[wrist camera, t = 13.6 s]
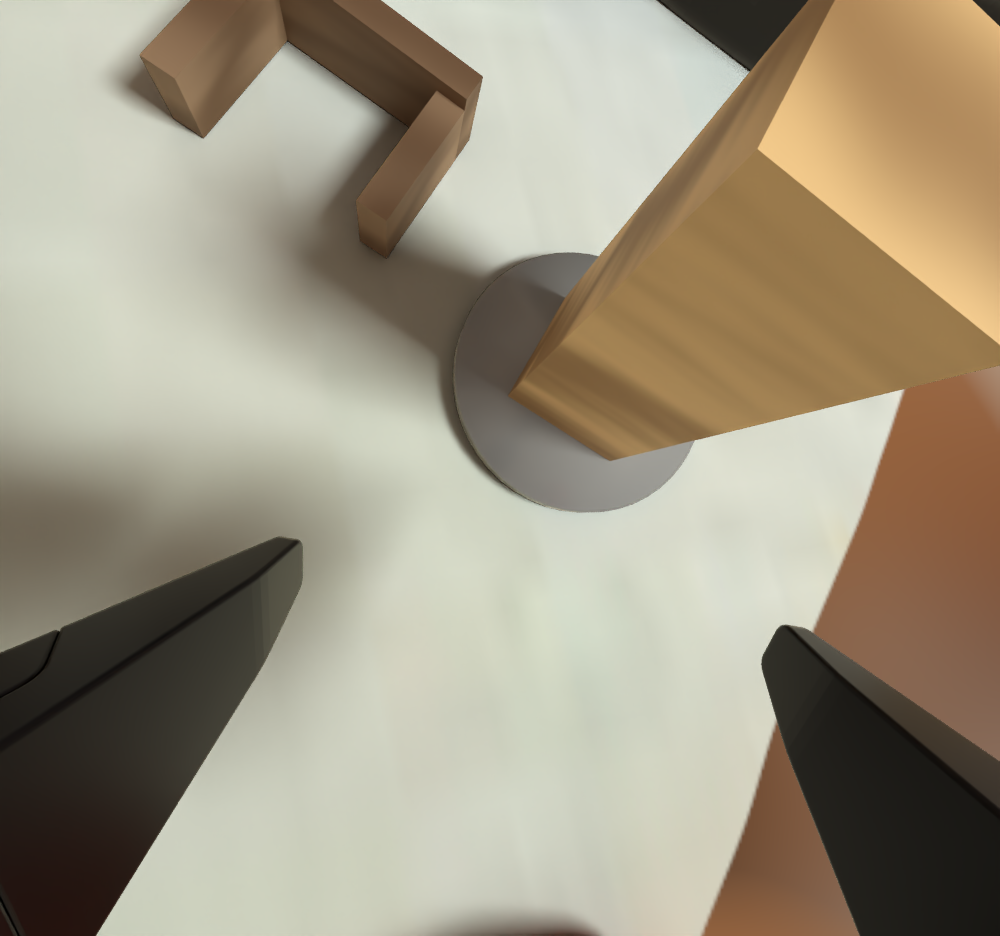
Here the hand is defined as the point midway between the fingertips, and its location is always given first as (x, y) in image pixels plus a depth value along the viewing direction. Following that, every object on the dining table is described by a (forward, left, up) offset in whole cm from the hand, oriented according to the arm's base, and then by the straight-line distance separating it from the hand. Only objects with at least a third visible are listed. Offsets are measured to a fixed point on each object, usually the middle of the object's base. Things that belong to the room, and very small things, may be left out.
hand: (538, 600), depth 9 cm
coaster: (+6, +7, -10) cm, 13 cm away
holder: (-4, +17, -10) cm, 20 cm away
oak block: (+6, +7, -9) cm, 13 cm away
